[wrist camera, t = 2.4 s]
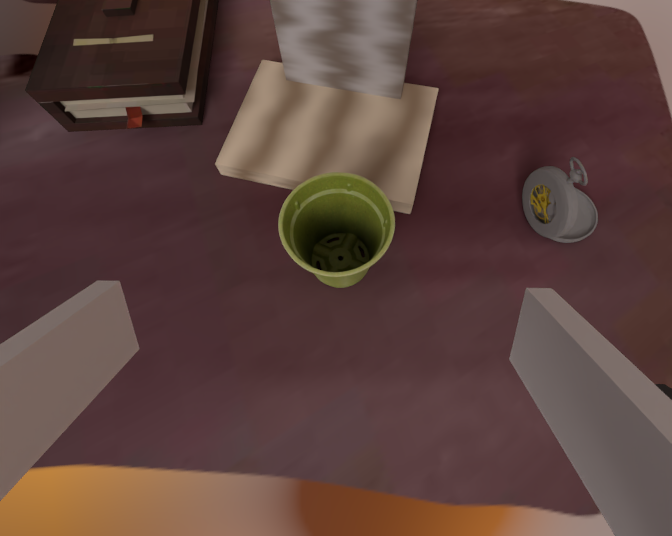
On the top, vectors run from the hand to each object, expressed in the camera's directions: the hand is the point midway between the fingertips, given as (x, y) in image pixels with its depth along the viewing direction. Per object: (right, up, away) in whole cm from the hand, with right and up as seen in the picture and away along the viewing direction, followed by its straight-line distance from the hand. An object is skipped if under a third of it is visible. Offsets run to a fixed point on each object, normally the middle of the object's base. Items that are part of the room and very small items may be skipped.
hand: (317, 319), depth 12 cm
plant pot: (+1, +2, +25) cm, 25 cm away
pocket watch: (+23, +7, +26) cm, 35 cm away
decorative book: (-25, +31, +37) cm, 54 cm away
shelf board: (0, +17, +30) cm, 35 cm away
